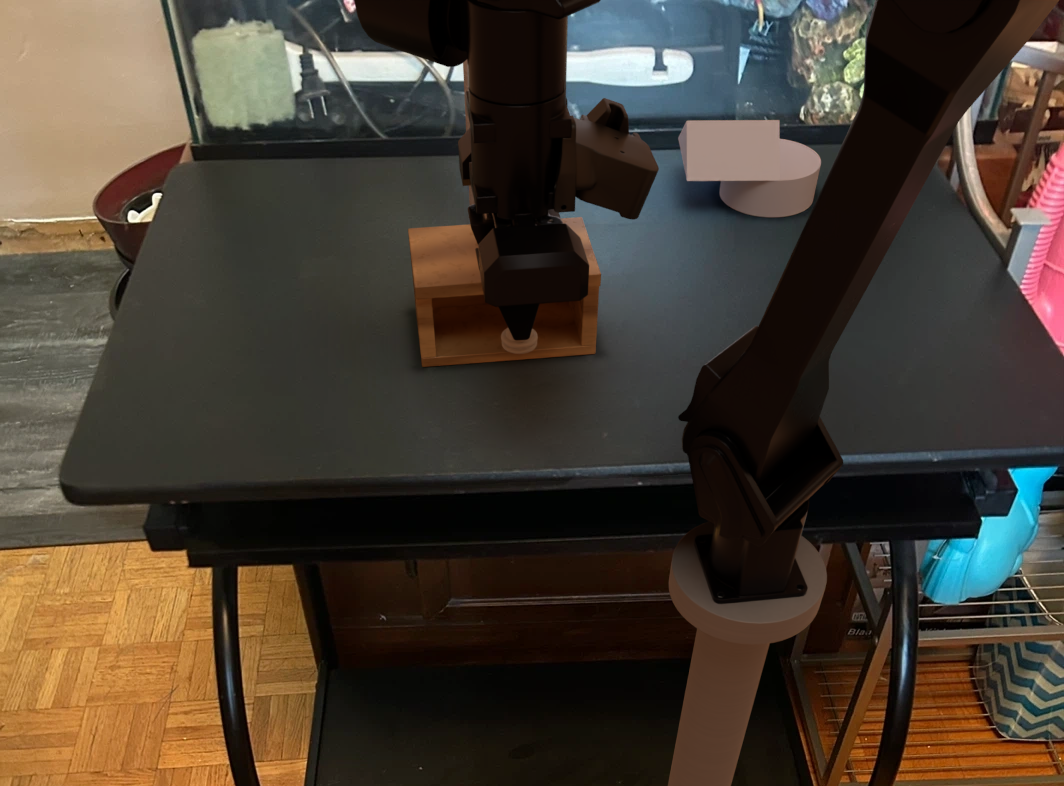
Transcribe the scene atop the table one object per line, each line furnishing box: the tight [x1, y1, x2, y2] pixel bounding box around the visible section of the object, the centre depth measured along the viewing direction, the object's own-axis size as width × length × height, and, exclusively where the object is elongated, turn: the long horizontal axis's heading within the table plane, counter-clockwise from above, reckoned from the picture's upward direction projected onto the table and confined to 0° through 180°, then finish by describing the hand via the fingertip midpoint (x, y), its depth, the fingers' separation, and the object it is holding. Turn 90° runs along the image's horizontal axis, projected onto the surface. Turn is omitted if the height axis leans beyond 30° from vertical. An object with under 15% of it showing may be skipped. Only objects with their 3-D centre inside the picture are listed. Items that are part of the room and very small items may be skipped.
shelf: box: [407, 216, 602, 368], centre depth 82 cm, size 9×14×7 cm, turn 97°
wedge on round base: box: [677, 119, 822, 218], centre depth 96 cm, size 9×7×13 cm
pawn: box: [501, 328, 538, 354], centre depth 71 cm, size 3×3×4 cm
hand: (519, 331), depth 72 cm, fingers closed on pawn, 2 cm apart
